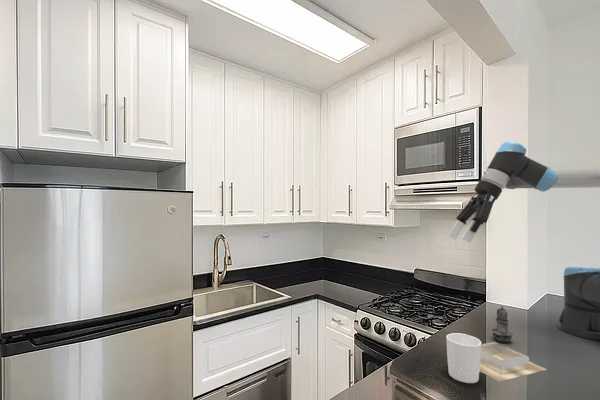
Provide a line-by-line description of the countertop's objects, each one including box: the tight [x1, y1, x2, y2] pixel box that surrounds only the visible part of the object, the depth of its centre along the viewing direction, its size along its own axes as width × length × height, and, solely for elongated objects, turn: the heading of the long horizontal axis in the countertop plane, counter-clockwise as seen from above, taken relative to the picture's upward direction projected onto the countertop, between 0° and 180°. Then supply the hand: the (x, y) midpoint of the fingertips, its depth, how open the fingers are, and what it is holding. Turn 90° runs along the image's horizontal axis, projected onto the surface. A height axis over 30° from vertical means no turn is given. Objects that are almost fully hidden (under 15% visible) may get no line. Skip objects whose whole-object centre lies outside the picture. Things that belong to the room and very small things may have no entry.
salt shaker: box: [491, 306, 514, 343], centre depth 102 cm, size 6×6×12 cm
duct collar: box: [480, 341, 530, 375], centre depth 87 cm, size 10×10×3 cm
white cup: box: [445, 332, 482, 384], centre depth 80 cm, size 8×8×10 cm
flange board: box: [479, 354, 547, 383], centre depth 87 cm, size 18×14×1 cm
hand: (458, 239), depth 107 cm, fingers open, 13 cm apart
